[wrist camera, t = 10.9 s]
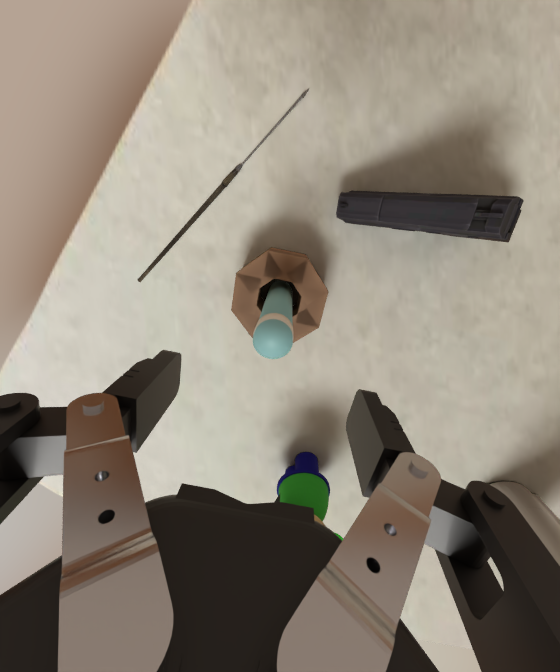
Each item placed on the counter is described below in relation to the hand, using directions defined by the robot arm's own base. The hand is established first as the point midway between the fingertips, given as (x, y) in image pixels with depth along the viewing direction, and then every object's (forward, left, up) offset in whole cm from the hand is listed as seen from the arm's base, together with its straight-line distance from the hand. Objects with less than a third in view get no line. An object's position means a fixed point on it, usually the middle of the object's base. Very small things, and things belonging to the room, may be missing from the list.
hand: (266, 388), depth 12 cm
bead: (0, 0, -20) cm, 20 cm away
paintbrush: (+9, -8, -20) cm, 23 cm away
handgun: (-12, -10, -20) cm, 25 cm away
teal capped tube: (0, 0, -20) cm, 20 cm away
